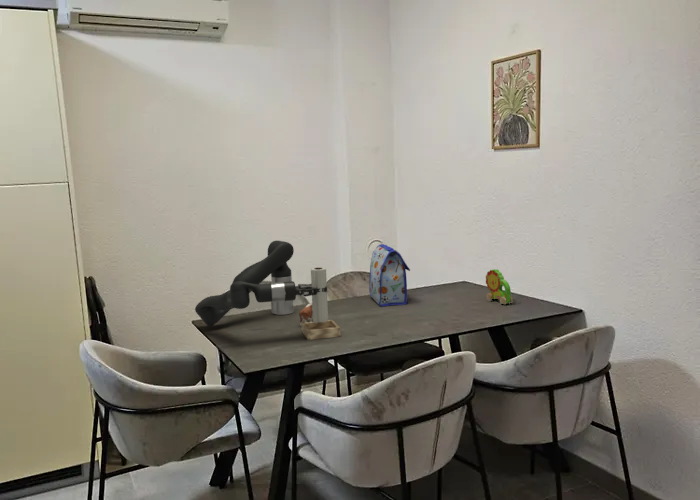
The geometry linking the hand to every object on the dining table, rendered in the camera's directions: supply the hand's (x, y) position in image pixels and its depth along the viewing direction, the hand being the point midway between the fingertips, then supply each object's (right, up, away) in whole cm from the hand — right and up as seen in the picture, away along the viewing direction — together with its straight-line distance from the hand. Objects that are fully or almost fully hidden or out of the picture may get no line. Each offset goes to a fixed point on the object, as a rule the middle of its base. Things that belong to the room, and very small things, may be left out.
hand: (325, 288), depth 246 cm
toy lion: (+79, -9, +44) cm, 91 cm away
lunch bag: (+29, -10, +55) cm, 63 cm away
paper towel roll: (-2, -13, +1) cm, 14 cm away
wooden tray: (-2, -18, +2) cm, 19 cm away
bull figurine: (-8, -16, +19) cm, 27 cm away
